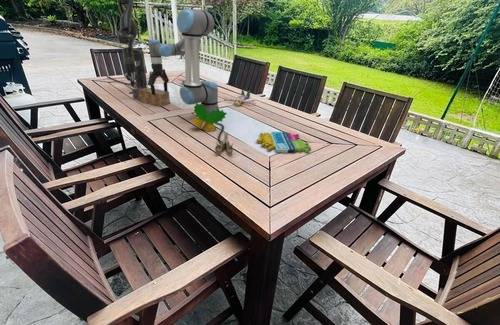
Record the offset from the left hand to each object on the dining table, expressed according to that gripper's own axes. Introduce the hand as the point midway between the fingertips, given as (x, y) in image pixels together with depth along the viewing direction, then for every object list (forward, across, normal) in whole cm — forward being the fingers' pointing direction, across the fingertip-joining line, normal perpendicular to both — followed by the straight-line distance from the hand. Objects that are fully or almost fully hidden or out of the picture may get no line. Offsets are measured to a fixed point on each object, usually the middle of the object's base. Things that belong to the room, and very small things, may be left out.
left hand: (133, 85), depth 206 cm
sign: (+10, +20, +131) cm, 133 cm away
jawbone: (+10, +46, +108) cm, 117 cm away
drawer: (+9, 0, +10) cm, 13 cm away
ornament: (+10, +23, +84) cm, 88 cm away
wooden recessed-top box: (+10, 0, +21) cm, 23 cm away
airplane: (+10, -62, +13) cm, 64 cm away
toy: (+10, -42, +75) cm, 87 cm away
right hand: (+1, 0, +27) cm, 27 cm away
